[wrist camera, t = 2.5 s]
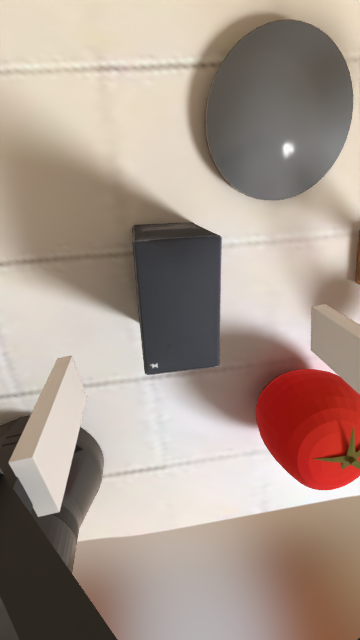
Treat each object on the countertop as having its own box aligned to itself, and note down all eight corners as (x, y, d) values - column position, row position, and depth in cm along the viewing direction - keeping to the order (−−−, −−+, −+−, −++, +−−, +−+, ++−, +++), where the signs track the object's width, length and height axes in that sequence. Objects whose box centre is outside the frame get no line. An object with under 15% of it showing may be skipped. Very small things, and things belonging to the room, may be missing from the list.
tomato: (244, 442, 42) (279, 525, 32) (244, 356, 37) (288, 422, 26) (328, 428, 43) (389, 504, 33) (340, 343, 38) (419, 401, 27)
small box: (198, 319, 34) (223, 370, 24) (140, 324, 33) (142, 379, 24) (197, 220, 30) (226, 234, 20) (130, 224, 29) (127, 240, 19)
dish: (212, 210, 29) (216, 211, 28) (194, 40, 24) (197, 32, 23) (339, 187, 30) (348, 187, 29) (348, 17, 25) (358, 8, 24)
